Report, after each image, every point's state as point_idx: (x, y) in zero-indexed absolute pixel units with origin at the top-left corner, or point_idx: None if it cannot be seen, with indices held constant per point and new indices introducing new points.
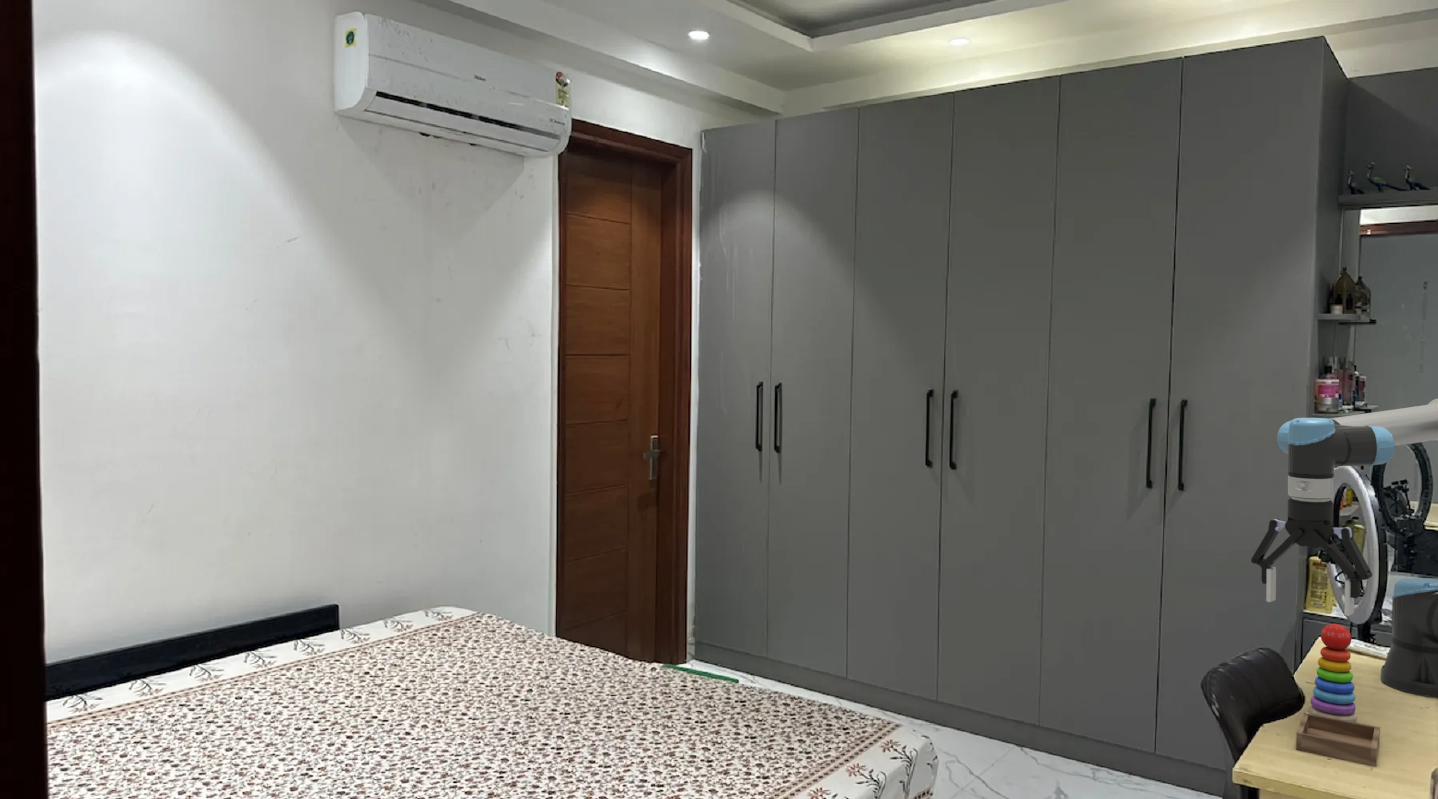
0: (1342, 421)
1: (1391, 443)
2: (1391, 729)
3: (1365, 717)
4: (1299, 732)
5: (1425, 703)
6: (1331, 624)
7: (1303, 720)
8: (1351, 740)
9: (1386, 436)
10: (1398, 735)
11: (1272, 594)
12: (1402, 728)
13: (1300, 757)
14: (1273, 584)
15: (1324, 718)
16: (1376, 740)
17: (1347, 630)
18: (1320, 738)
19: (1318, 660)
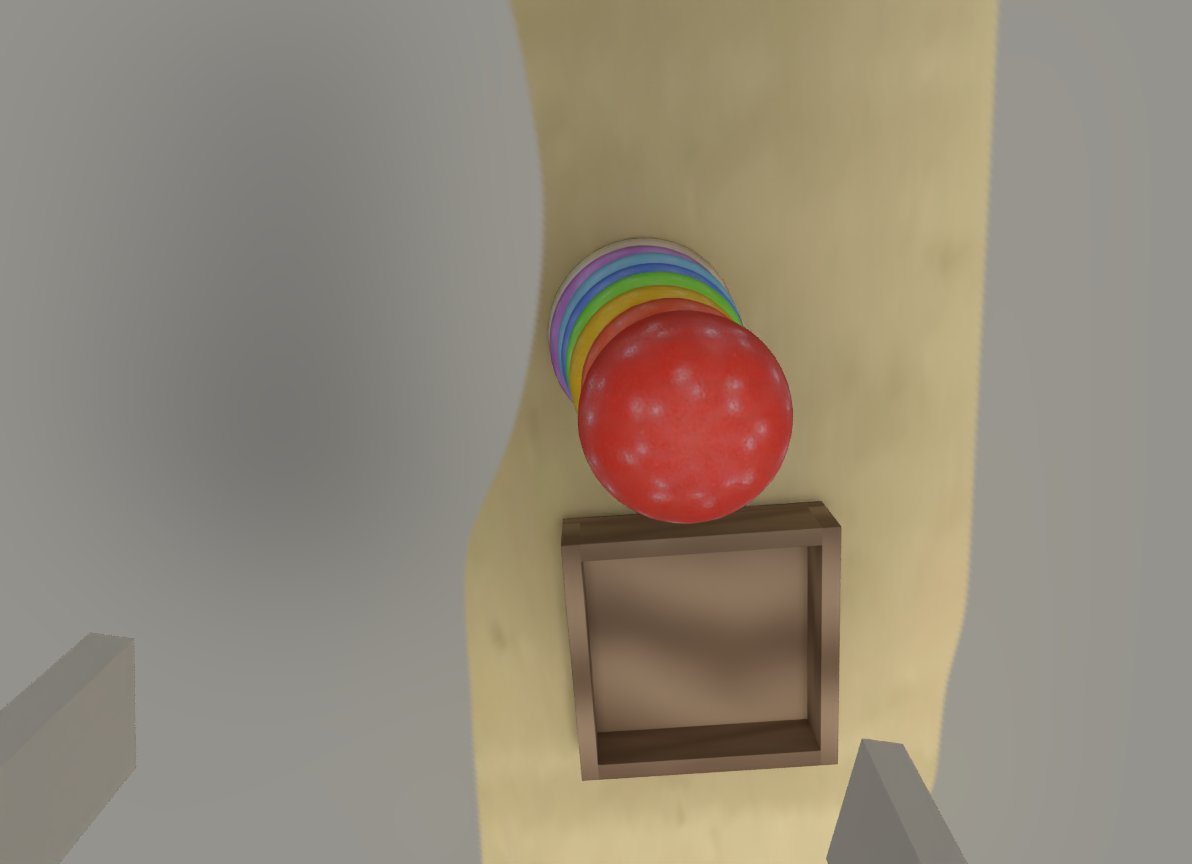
0: None
1: None
2: (857, 298)
3: (755, 205)
4: (589, 767)
5: None
6: (658, 453)
7: (576, 637)
8: (736, 575)
9: None
10: (883, 357)
11: (87, 771)
12: (898, 253)
13: (607, 792)
14: (2, 848)
15: (640, 557)
16: (834, 679)
17: (777, 444)
18: (660, 773)
19: (576, 406)
